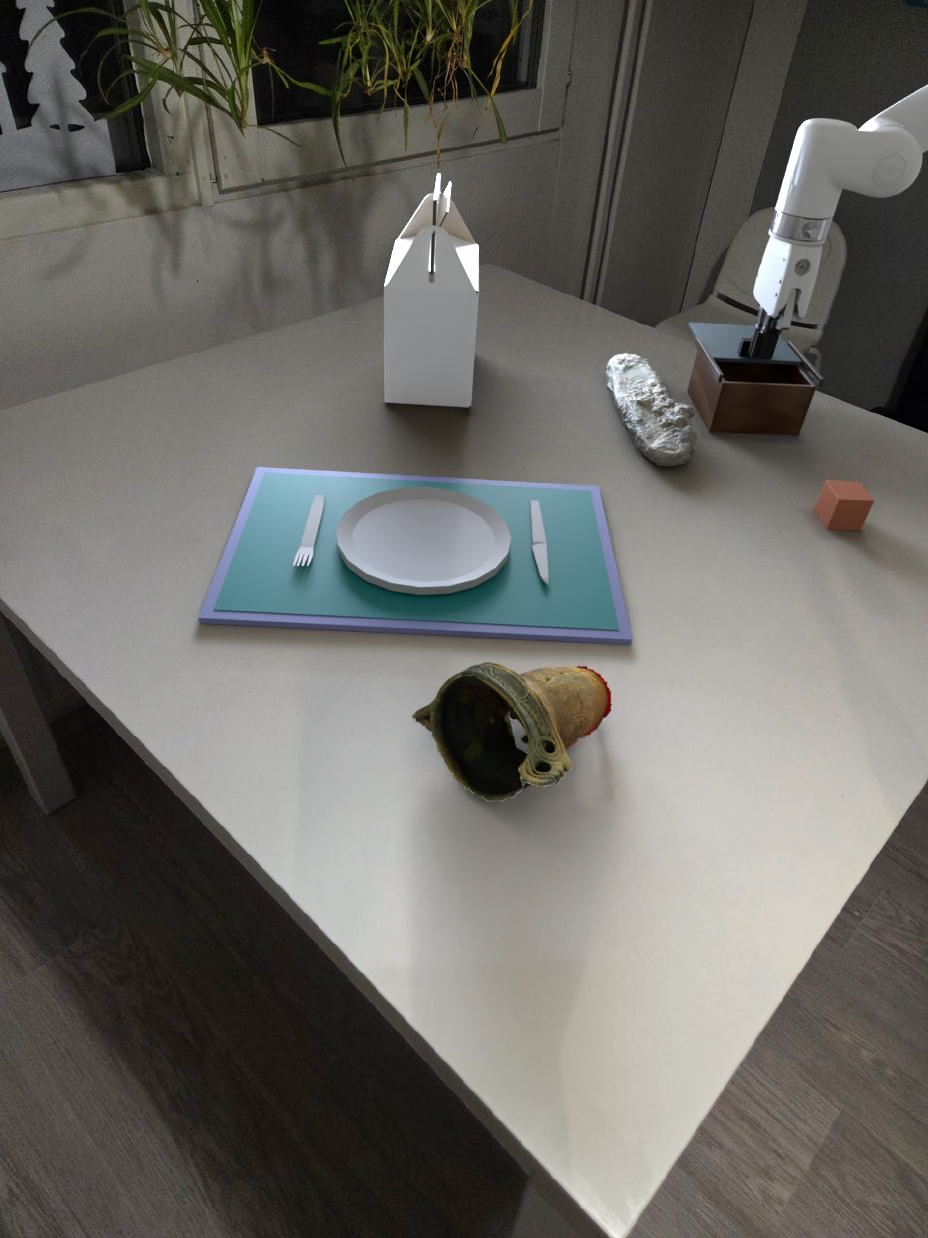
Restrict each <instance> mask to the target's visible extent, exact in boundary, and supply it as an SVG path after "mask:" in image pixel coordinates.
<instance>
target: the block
mask: <svg viewBox="0 0 928 1238" xmlns="http://www.w3.org/2000/svg"><path fill="white" fill-rule="evenodd" d="M874 502H875V500H874V498H873V497H872V495H871V494H870V493H869V491H868V490H867V489H866V488H865V486H864V484H863V483H862V482H861V481H857V480H856V481H855V480H854V481H853V480H830V479H829V480H828V479H826V480H825V481H824V484H823V486H822V489H821V491H820V494H819V496H818V499H817V501H816V504H815V506H814V509H813V512H814V513H815V514H816V516H817V517H818V519H819V521H820V522H821V524H822V525H823V527H824V528H825V530H826V531H852V532H853V531H854V532H855V531H856V532H861V531H862V529H863V527H864V525H865V523H866V520H867V519H868V516H869V514H870V511H871V509H872V507H873V505H874Z"/></svg>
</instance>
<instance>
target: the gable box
mask: <svg viewBox="0 0 928 1238" xmlns="http://www.w3.org/2000/svg"><path fill="white" fill-rule="evenodd" d="M435 180H436V181H435V187H434V192H430V193H429V194H426V196H425V197H424V198H423V200H422V201H421V203H420V204H419V206H418V207H417V209H416V210H415V211H414V213H413V215H412V217H410V220H409V221H408V223H407V224H406V226H405V227H404V229H403V230H402V232H401V233H400V235H399V236H398V238H397V239H396V240H395V242H394V245H393V250H392V253H391V258H390V262H389V265H388V270H387V272H386V273H387V274H386V277H385V281H384V286H383V355H384V356H383V357H384V358H383V359H384V361H383V364H384V367H383V368H384V369H383V370H384V371H383V375H384V379H383V381H384V382H383V383H384V384H383V385H384V387H383V389H384V393H383V394H384V396H383V397H384V403H386V404H400V405H401V404H403V405H417V406H432V407H433V406H435V407H449V408H450V407H452V408H465V409H466V408H467V409H469V408H471V407H472V397H473V384H474V369H475V357H476V355H475V354H476V340H477V329H478V328H477V327H478V311H479V299H480V298H479V296H480V255H479V254H480V245H479V244H477V242H476V240H475V239H474V236H473V235H472V233H471V231H470V230H469V227H468V225H467V224H466V222H465V220H464V218H463V216H462V215H461V213H460V211H459V209H458V207H457V205H456V203H455V201H454V200H453V198H452V196H451V191H452V189H451V188H452V182H451V181H449V182H448V185H447V187H446V188H445V191H444V192H441V183H442V182H441V181H442V174H441V173H437V174H436V179H435Z"/></svg>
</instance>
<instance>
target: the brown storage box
mask: <svg viewBox="0 0 928 1238" xmlns="http://www.w3.org/2000/svg"><path fill="white" fill-rule="evenodd" d="M787 345H788V346H789V347H790V348H791V349H792V351H793V352H794V353H795V354H796V355H797V357H798V358H799V359H800V360H801V361H802V362H801V365H787V364H765V363H742V362H720V361H714V359H713V357H712V356H711V354H710V353H709V351H708V350H707V348H706V346H705V345H704V343H703V342H702V340H701V339H700V337H695V338H694V346H695V348H696V350H697V351H696V355H695V358H694V362H693V365H692V371H691V375H690V379H689V382H688V386H687V391H686V393H687V394H688V397H689V398H690V400H691V402H692V404H693V405H694V407H695V409H696V411H697V413H698V416H699V417H700V418H701V420H702V422H703V424H704V426H705V427H706V429H707V432H708V433H710V434H732V435H733V434H734V435H759V436H783V437H799V436H800V434H801V431H802V429H803V427H804V424H805V420H806V417H807V415H808V412H809V409H810V407H811V404H812V401H813V398H814V395H815V393H816V390H817V387H818V388H822V387H823V385H824V382H825V378H824V377H823V376H822V374H821V373H820V372H819V371H818V370H817V368H816V367H815V366H814V365H813V364H812V363H811V361H810V360H809V359H808V358H807V357H806V356H805V354H804V353H803V352H802V351H801V350H800V349H799V347H798V346H797V345H796V344H795V343H794V341H792V340H789V341H788V343H787Z"/></svg>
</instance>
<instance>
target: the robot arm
mask: <svg viewBox="0 0 928 1238" xmlns="http://www.w3.org/2000/svg"><path fill="white" fill-rule="evenodd" d="M927 151H928V84H927V85H925V86H923V87H921V88H919V89H917V90H916V91H914V92H913V93H910V94H909V95H907V96H905V97H904V98H902V99H901V100H899V101H898V102H896V103H894V104H893V105H891V106H889V107H888V108H886V109H884V110H883V111H881V112H880V113H878V114H876V115H875V116H873V117H871V118H870V119H869V120H868V121H866V122H865V123H864V124H863V125H861V126H860V128H857V126H856V125H854V124H852V123H851V122H848V121H844V120H840V119H835V118H826V117H825V118H824V117H820V118H819V117H817V118H809V119H807V120H805V121H803V122H802V123H801V125H800V126H799V127H798V129H797V132H796V135H795V138H794V140H793V145H792V149H791V151H790V155H789V159H788V163H787V165H786V169H785V173H784V177H783V179H782V184H781V186H780V191H779V194H778V197H777V198H778V199H777V201H776V204H775V208H774V212H773V216H772V219H771V223H770V225H769V230H768V236H769V239H768V241H767V244H766V247H765V250H764V253H763V256H762V258H761V261H760V264H759V268H758V271H757V274H756V278H755V282H754V285H753V292H752V293H753V297H754V299H755V301H756V303H757V306H758V307H757V308H758V313H757V316H756V320H755V326H756V327H759V328H755V331H754V335H753V338H752V342H751V345H750V348H749V352H748V353H749V355H750V356H751V357H752V358H753V359H772V357H773V354H774V351H775V348H776V345H777V341H778V338H779V335H780V336H781V335H782V333H783V331H789V330H790V327H791V324H792V320H793V319H792V318H793V316H794V317H795V318H796V320H803V319H805V317H806V315H807V311H808V309H809V305H810V303H811V299H812V295H813V292H814V289H815V285H816V282H817V277H818V273H819V268H820V264H821V258H822V252H823V245H824V244H825V242H826V239H827V238H828V237H827V236H828V233H829V230H830V227H831V224H832V222H833V219H834V215H835V213H836V210H837V207H838V203H839V201H840V197H841V194H842V191H843V190H847V191H851V192H854V193H857V194H860V195H864V196H867V197H872V198H878V199H881V198H882V199H883V198H889V197H894V196H896V195H899V194H900V193H902V192H904V191H905V190H907V189H908V188H909V187H910V186H911V185H912V184H913V183H914V182H915V180H917V178H918V176H919V174H920V172H921V168H922V165H923V154H924V153H926V152H927Z"/></svg>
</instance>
